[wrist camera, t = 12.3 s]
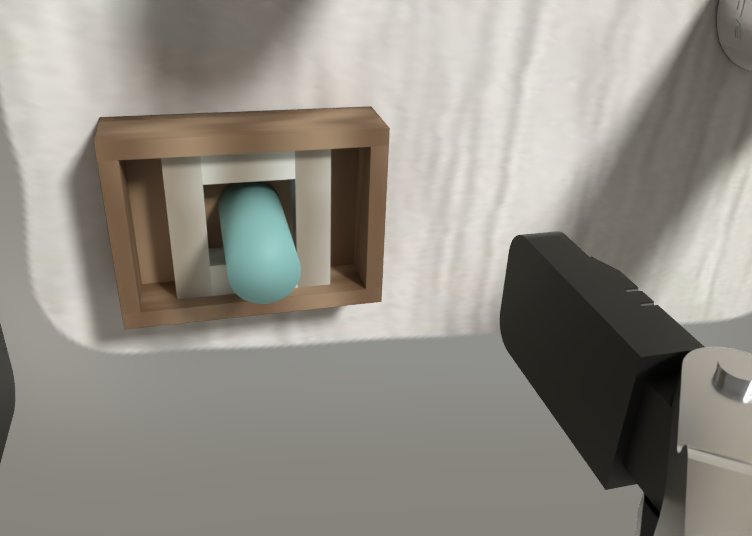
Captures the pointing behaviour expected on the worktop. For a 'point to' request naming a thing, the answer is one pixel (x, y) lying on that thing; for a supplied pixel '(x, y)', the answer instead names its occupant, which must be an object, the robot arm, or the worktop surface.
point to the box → (201, 215)
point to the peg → (257, 243)
